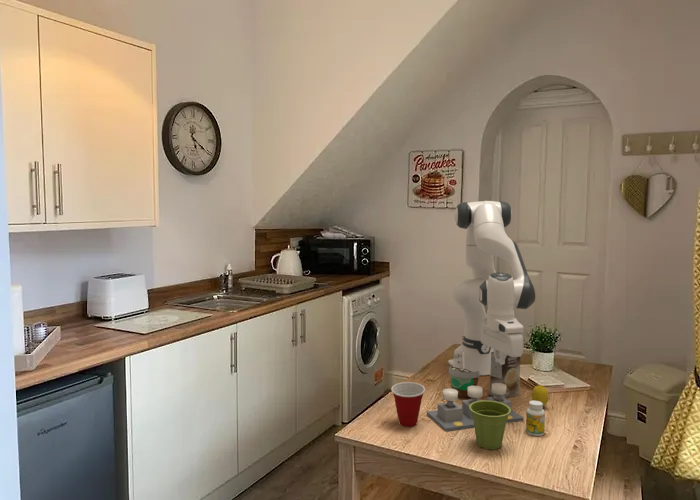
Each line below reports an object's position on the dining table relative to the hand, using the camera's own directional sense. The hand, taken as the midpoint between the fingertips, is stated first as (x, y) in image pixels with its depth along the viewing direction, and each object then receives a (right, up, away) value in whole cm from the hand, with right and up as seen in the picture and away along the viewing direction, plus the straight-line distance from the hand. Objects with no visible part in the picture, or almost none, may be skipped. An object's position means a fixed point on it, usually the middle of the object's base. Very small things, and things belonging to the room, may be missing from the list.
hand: (500, 363), depth 184 cm
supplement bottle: (+7, -19, -12) cm, 24 cm away
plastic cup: (-31, -19, -5) cm, 37 cm away
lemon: (+16, -17, +8) cm, 25 cm away
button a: (0, -14, +2) cm, 14 cm away
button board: (-9, -18, -1) cm, 20 cm away
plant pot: (-9, -20, -20) cm, 30 cm away
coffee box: (+7, -16, +20) cm, 26 cm away
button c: (-17, -14, -4) cm, 23 cm away
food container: (-9, -16, +19) cm, 27 cm away
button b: (-9, -14, -1) cm, 17 cm away
